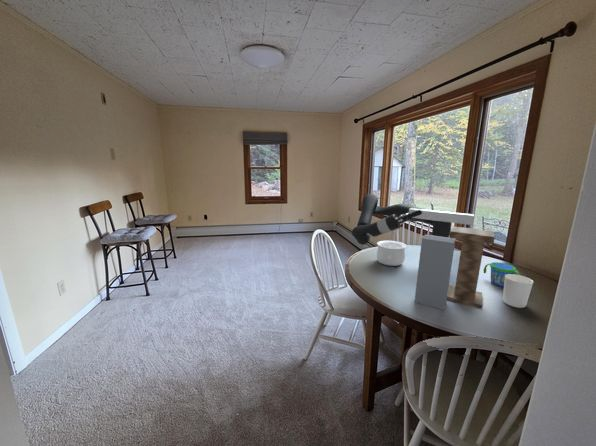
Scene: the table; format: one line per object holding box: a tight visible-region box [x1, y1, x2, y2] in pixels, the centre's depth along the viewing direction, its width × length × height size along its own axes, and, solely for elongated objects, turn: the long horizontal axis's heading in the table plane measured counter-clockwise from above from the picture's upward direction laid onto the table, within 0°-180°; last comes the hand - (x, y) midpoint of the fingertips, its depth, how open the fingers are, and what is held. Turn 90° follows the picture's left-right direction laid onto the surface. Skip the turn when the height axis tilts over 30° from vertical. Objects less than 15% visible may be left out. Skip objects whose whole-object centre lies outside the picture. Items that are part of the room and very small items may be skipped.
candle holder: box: [502, 273, 534, 309], centre depth 118 cm, size 10×10×12 cm
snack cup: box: [483, 261, 521, 287], centre depth 138 cm, size 16×10×10 cm
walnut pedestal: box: [446, 225, 496, 309], centre depth 121 cm, size 16×14×32 cm
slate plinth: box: [414, 234, 456, 311], centre depth 116 cm, size 12×8×30 cm, turn 56°
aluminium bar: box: [409, 208, 475, 226], centre depth 121 cm, size 26×4×4 cm, turn 56°
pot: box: [376, 239, 407, 267], centre depth 165 cm, size 22×17×12 cm
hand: (421, 211), depth 125 cm, fingers closed on aluminium bar, 4 cm apart
